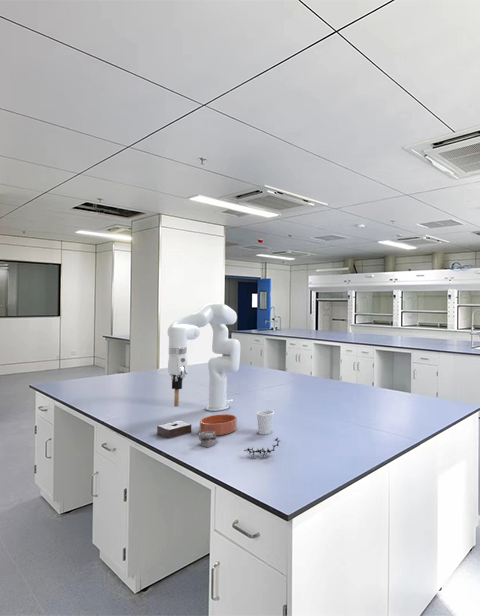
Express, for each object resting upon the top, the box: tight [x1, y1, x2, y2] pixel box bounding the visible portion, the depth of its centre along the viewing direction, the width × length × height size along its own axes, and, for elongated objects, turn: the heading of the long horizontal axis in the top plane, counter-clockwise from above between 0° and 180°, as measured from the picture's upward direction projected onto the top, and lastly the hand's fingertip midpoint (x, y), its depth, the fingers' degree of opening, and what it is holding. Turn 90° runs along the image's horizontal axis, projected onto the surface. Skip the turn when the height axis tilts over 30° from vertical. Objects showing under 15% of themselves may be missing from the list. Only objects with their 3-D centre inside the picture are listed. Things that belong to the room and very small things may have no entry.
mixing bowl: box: [198, 413, 238, 437], centre depth 187 cm, size 17×17×6 cm
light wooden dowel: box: [173, 377, 180, 407], centre depth 183 cm, size 2×2×14 cm
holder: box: [156, 420, 192, 439], centre depth 182 cm, size 11×11×4 cm
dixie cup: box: [255, 409, 275, 435], centre depth 187 cm, size 8×8×10 cm
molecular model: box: [243, 436, 282, 458], centre depth 157 cm, size 6×15×8 cm, turn 96°
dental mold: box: [198, 431, 217, 448], centre depth 170 cm, size 8×7×5 cm
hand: (176, 388), depth 183 cm, fingers closed on light wooden dowel, 1 cm apart
